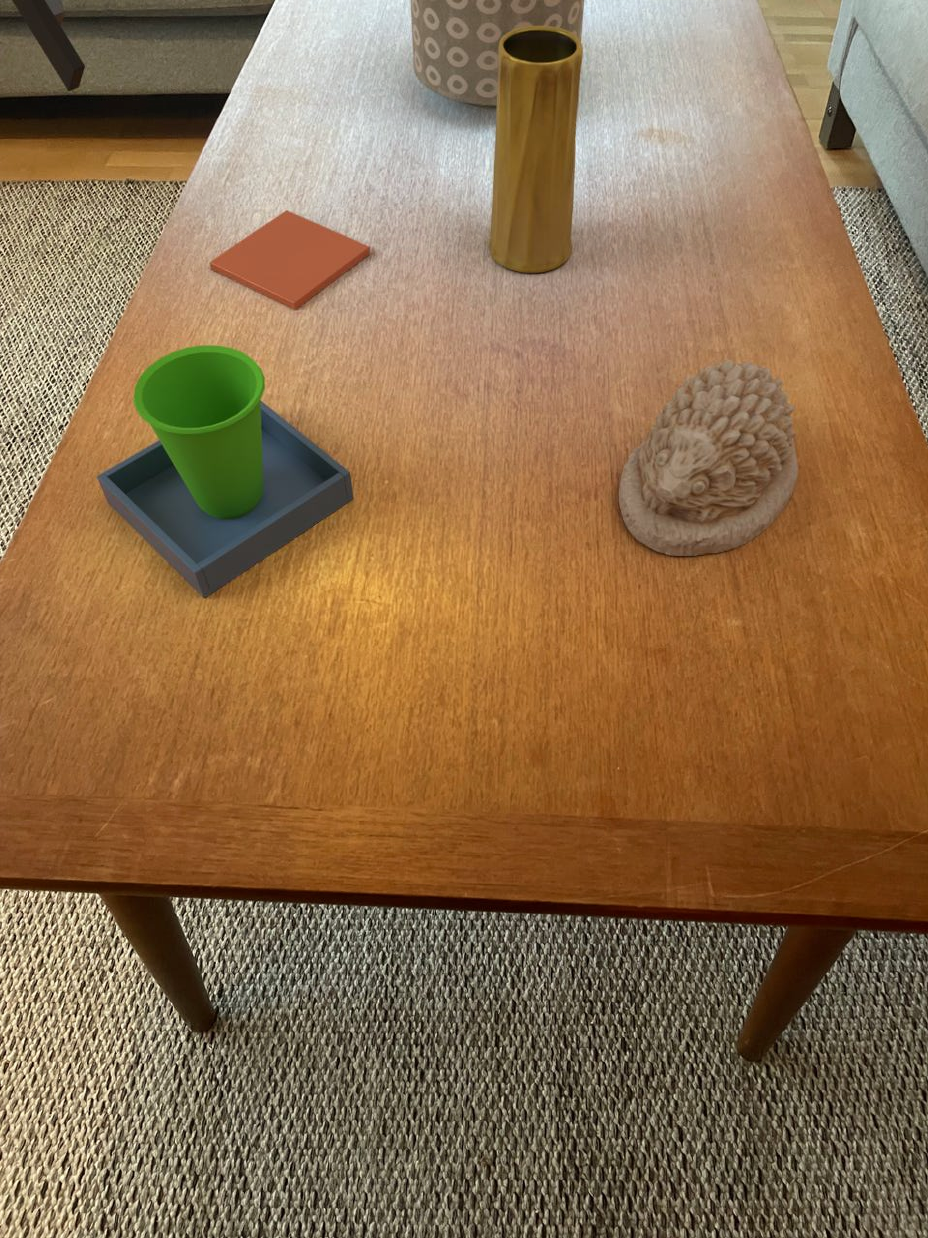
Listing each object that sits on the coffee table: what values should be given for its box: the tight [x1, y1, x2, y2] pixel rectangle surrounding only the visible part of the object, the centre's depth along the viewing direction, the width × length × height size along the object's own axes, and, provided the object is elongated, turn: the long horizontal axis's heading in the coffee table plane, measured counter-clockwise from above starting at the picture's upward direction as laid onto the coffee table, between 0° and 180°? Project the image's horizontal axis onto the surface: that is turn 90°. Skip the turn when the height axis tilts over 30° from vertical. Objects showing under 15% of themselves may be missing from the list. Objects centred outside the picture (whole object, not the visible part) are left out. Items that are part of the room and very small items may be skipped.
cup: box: [132, 344, 266, 519], centre depth 73 cm, size 9×9×11 cm
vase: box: [488, 26, 584, 274], centre depth 89 cm, size 8×8×19 cm
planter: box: [410, 0, 585, 110], centre depth 109 cm, size 19×19×18 cm
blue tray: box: [96, 400, 355, 599], centre depth 76 cm, size 14×13×3 cm
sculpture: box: [618, 359, 800, 557], centre depth 74 cm, size 12×17×10 cm
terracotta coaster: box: [209, 209, 371, 310], centre depth 96 cm, size 11×11×1 cm
